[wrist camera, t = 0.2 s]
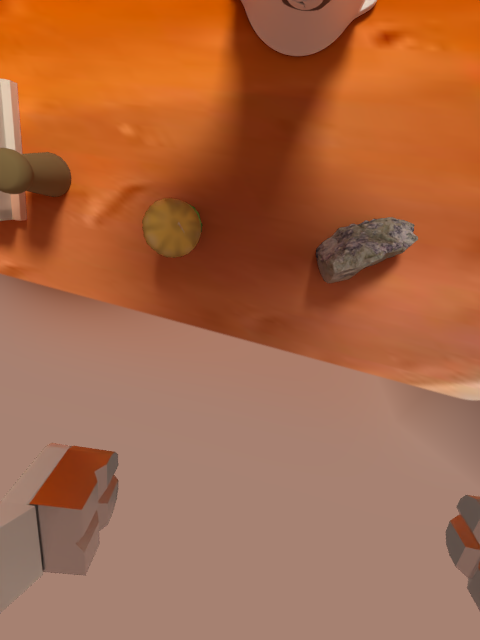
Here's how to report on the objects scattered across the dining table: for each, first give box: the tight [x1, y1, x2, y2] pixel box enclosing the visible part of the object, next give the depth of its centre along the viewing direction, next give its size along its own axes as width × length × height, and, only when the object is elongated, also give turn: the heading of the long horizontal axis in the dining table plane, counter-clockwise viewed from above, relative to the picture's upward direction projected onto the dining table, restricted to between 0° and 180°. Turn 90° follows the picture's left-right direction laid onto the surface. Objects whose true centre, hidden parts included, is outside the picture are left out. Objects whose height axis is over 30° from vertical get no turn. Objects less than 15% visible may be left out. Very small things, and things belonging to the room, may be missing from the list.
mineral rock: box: [316, 217, 418, 283], centre depth 48 cm, size 13×11×10 cm
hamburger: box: [142, 198, 202, 258], centre depth 47 cm, size 8×7×12 cm
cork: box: [0, 148, 71, 197], centre depth 45 cm, size 6×6×11 cm
